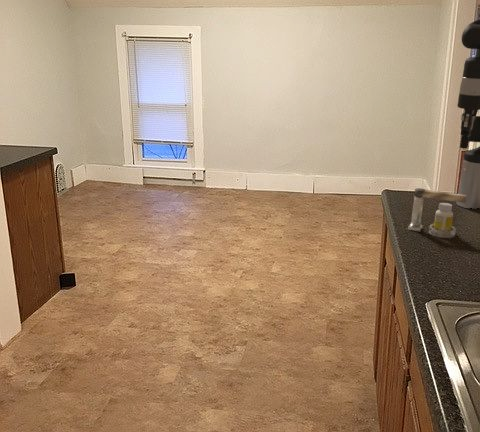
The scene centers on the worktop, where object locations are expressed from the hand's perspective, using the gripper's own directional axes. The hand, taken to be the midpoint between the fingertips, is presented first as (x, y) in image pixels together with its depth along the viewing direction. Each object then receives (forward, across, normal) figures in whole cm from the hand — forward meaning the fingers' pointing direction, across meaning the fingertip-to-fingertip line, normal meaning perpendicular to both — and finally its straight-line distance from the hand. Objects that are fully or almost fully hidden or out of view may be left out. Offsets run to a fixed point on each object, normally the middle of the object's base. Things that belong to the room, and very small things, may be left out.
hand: (463, 147), depth 180 cm
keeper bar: (+16, -8, +4) cm, 18 cm away
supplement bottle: (+27, -8, +2) cm, 28 cm away
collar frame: (+27, -8, +5) cm, 29 cm away
